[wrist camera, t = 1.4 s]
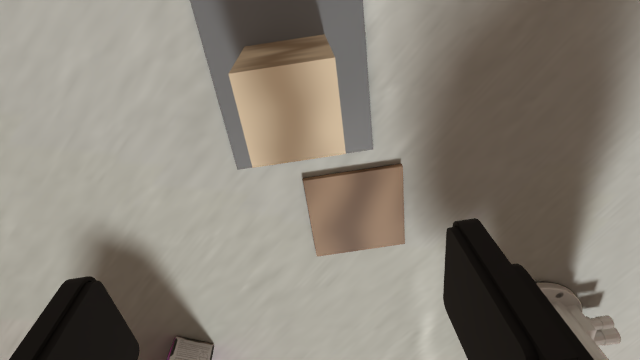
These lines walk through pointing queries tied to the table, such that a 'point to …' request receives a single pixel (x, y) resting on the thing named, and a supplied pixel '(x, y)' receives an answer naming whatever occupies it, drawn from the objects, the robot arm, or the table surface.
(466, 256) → the robot arm
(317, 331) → the table surface
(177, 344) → the candy bar box
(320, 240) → the pad
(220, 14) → the gray board
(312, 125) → the maple block
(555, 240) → the table surface
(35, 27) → the table surface
